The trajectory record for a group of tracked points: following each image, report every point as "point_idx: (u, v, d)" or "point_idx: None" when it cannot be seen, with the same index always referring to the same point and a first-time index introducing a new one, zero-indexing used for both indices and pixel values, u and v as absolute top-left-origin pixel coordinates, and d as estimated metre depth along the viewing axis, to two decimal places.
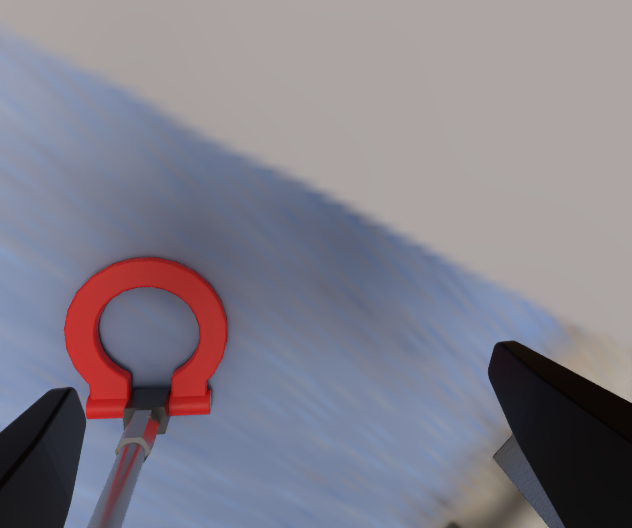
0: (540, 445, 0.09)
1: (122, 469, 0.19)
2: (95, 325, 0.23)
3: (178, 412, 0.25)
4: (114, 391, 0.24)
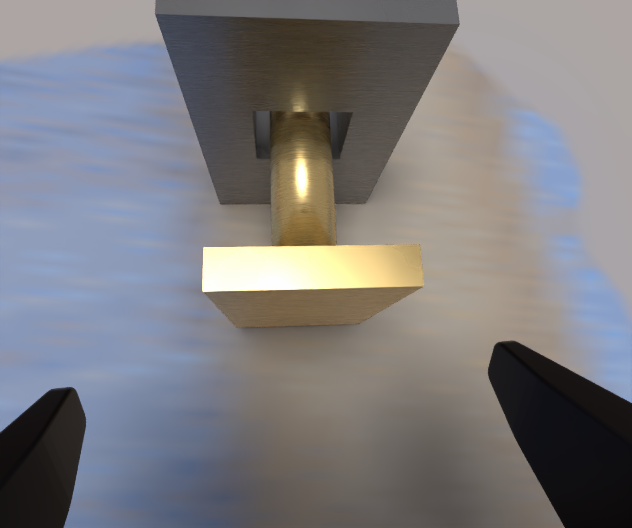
0: (540, 445, 0.09)
1: None
2: None
3: None
4: None
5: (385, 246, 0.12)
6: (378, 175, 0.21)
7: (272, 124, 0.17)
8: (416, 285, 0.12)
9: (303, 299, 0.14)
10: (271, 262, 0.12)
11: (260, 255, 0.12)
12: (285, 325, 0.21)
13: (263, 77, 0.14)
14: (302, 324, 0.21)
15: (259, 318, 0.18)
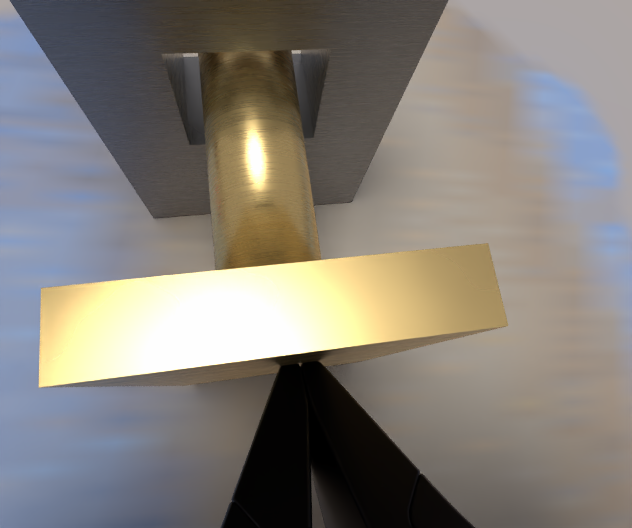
0: (318, 477, 0.08)
1: None
2: None
3: None
4: None
5: (423, 252, 0.06)
6: (369, 160, 0.15)
7: (202, 73, 0.11)
8: (493, 326, 0.06)
9: (271, 363, 0.07)
10: (192, 306, 0.06)
11: (168, 294, 0.06)
12: (255, 375, 0.15)
13: None
14: None
15: (210, 379, 0.11)
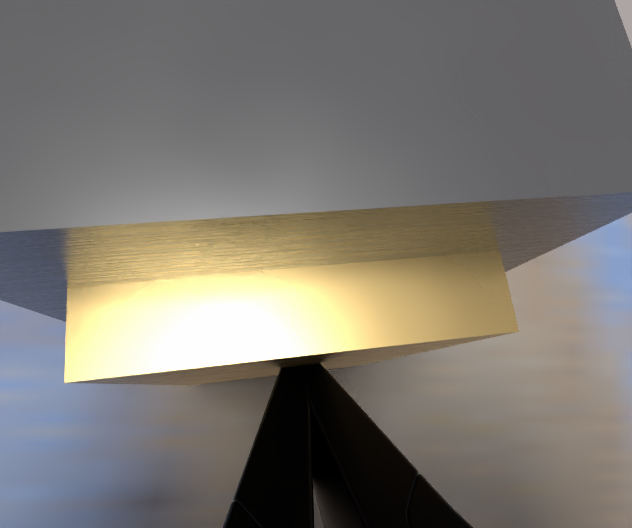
0: (317, 477, 0.08)
1: None
2: None
3: None
4: None
5: (437, 258, 0.06)
6: None
7: None
8: (504, 331, 0.06)
9: (284, 363, 0.07)
10: (214, 307, 0.06)
11: (190, 294, 0.06)
12: None
13: None
14: None
15: (217, 379, 0.12)
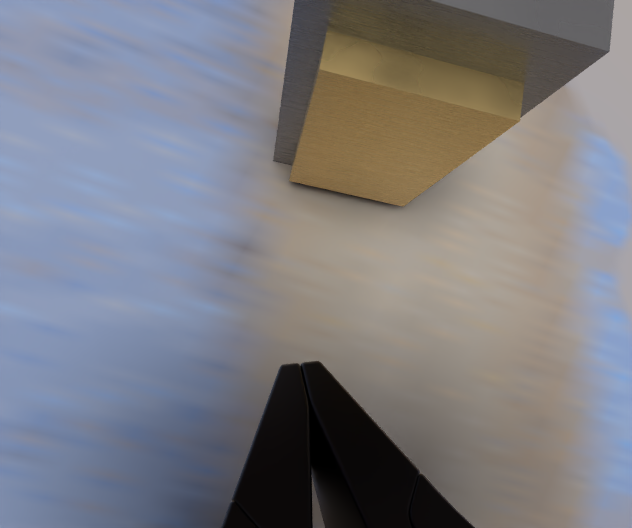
0: (318, 477, 0.08)
1: None
2: None
3: None
4: None
5: (493, 76, 0.13)
6: None
7: None
8: (513, 118, 0.13)
9: (394, 122, 0.14)
10: (386, 61, 0.12)
11: (377, 52, 0.12)
12: (336, 189, 0.22)
13: None
14: (352, 191, 0.22)
15: (324, 161, 0.18)
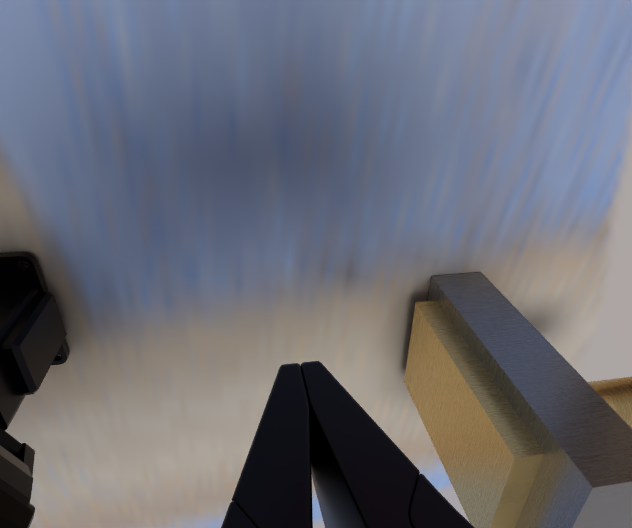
0: (318, 477, 0.08)
1: None
2: None
3: None
4: None
5: None
6: None
7: None
8: None
9: (476, 463, 0.19)
10: (521, 486, 0.17)
11: (528, 480, 0.17)
12: (413, 339, 0.25)
13: None
14: (412, 352, 0.25)
15: (438, 362, 0.22)
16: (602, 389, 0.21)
